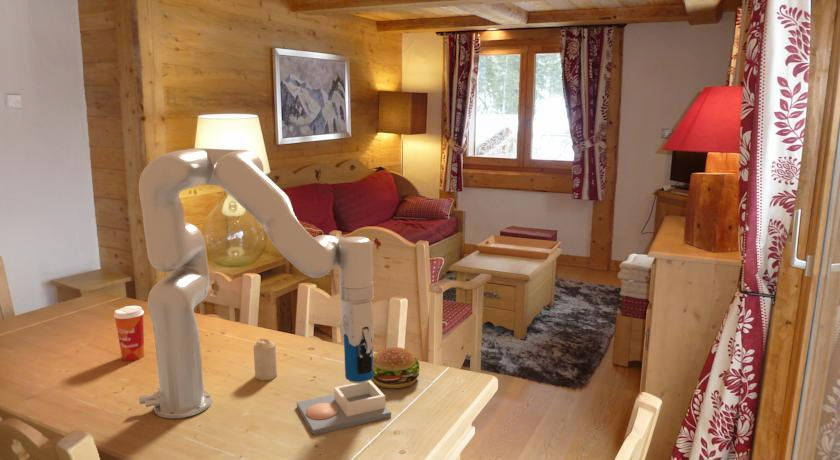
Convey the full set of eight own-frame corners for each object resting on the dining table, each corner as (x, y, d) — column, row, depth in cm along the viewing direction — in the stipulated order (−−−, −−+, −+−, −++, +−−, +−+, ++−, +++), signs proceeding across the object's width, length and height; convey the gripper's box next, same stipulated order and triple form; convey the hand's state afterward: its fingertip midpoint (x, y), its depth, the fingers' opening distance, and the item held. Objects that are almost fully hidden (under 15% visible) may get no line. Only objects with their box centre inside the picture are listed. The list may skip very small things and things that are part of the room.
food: (368, 368, 167) (367, 340, 165) (420, 368, 166) (420, 340, 165) (362, 391, 153) (361, 361, 152) (418, 392, 153) (418, 361, 151)
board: (313, 435, 133) (312, 417, 132) (297, 406, 145) (296, 390, 145) (391, 417, 141) (390, 399, 140) (368, 391, 153) (368, 375, 152)
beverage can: (369, 386, 139) (367, 335, 137) (341, 383, 141) (339, 333, 138) (376, 374, 146) (375, 325, 143) (350, 371, 147) (348, 323, 145)
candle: (281, 374, 163) (279, 338, 161) (268, 382, 158) (265, 345, 156) (264, 370, 165) (262, 334, 163) (250, 378, 161) (248, 342, 159)
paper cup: (111, 360, 172) (106, 312, 170) (133, 350, 179) (129, 303, 177) (133, 364, 169) (128, 315, 167) (154, 353, 176) (150, 307, 174)
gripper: (329, 284, 145) (331, 356, 149) (353, 305, 130) (356, 385, 133) (359, 280, 148) (361, 350, 152) (387, 300, 133) (388, 378, 137)
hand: (359, 366), depth 143 cm, fingers closed on beverage can, 6 cm apart
